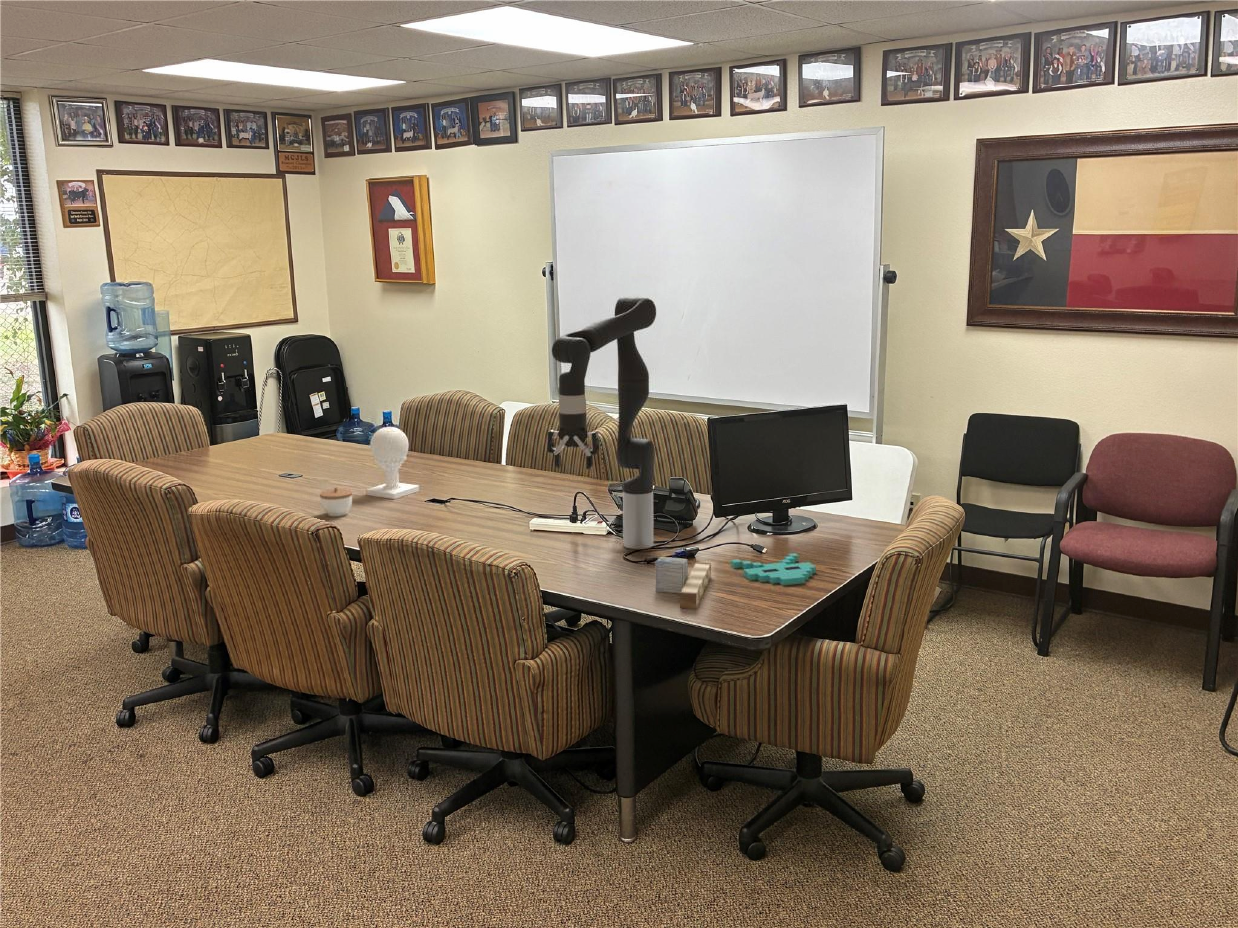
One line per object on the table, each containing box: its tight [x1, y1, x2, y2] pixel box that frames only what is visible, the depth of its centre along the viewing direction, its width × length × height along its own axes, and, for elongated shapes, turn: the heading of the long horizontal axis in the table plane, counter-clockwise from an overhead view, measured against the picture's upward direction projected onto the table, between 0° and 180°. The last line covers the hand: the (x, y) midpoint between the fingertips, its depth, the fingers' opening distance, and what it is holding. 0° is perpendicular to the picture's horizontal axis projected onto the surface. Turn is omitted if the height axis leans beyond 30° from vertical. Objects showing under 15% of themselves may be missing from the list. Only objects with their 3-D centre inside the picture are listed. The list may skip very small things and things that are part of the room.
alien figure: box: [730, 552, 817, 586], centre depth 293 cm, size 20×2×20 cm
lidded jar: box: [319, 487, 353, 517], centre depth 359 cm, size 11×11×9 cm
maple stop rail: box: [679, 561, 712, 610], centre depth 278 cm, size 26×4×4 cm, turn 167°
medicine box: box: [654, 556, 689, 595], centre depth 279 cm, size 8×4×9 cm, turn 72°
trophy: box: [365, 426, 420, 500], centre depth 385 cm, size 14×14×25 cm
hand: (573, 468), depth 290 cm, fingers open, 8 cm apart
